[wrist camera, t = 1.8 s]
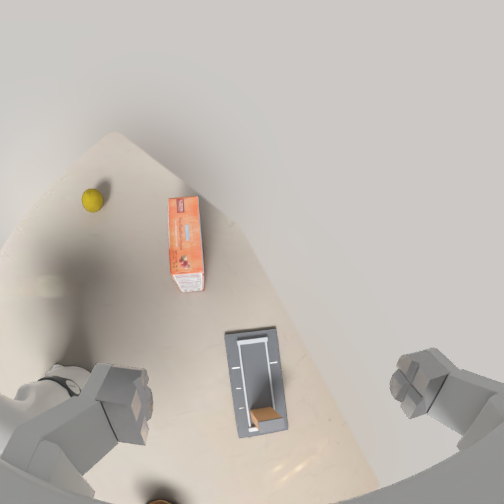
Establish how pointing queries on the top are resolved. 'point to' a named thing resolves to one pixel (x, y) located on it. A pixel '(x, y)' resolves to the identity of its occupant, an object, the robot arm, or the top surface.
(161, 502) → the tan ugg boot
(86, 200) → the lemon
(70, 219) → the top surface
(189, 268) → the cracker box
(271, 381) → the grey fader base
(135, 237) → the top surface
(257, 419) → the fader cap
